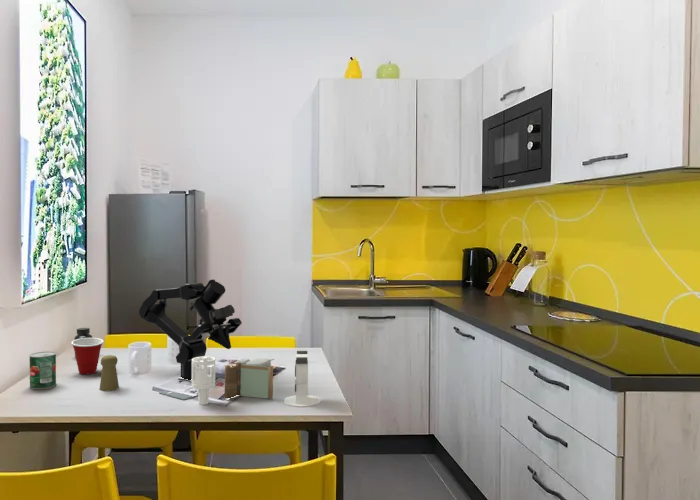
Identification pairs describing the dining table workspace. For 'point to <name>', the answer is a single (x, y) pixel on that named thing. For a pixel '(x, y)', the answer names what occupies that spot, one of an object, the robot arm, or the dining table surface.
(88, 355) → the plastic cup
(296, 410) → the dining table surface
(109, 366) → the cork
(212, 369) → the white stepped cylinder
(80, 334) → the supplement bottle
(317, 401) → the white stand
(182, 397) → the card
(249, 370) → the folding section
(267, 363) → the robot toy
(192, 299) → the robot arm
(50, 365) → the canned tomato
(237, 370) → the fence fixed
